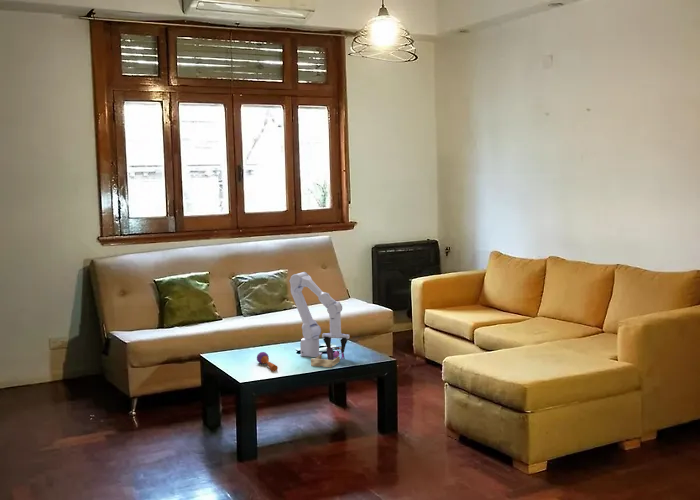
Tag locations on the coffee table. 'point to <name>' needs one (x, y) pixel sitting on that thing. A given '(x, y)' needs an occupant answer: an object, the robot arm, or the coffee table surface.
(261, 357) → the kendama
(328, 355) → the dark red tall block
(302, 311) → the robot arm
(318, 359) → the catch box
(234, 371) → the coffee table surface
